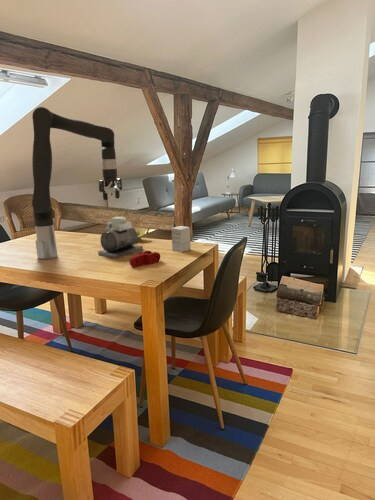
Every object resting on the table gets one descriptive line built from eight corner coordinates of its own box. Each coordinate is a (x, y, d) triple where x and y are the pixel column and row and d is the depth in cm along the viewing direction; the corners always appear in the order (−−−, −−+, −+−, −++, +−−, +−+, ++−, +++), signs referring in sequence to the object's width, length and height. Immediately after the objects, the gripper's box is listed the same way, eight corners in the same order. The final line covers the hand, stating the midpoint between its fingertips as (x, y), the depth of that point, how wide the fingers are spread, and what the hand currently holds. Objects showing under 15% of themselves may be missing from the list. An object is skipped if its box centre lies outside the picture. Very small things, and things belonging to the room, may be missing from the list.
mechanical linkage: (150, 259, 196) (149, 249, 195) (160, 261, 192) (160, 251, 191) (126, 266, 185) (125, 256, 183) (136, 269, 180) (136, 259, 179)
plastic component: (112, 240, 229) (112, 230, 236) (114, 249, 234) (114, 239, 241) (145, 236, 230) (144, 226, 238) (146, 245, 235) (145, 235, 243)
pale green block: (121, 228, 203) (120, 218, 202) (110, 227, 207) (109, 217, 206) (127, 226, 207) (126, 217, 206) (117, 225, 211) (116, 216, 210)
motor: (117, 258, 199) (114, 226, 195) (98, 254, 207) (95, 224, 203) (142, 249, 215) (141, 220, 211) (124, 246, 223) (122, 218, 219)
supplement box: (181, 247, 216) (180, 225, 213) (191, 249, 211) (190, 227, 208) (171, 250, 211) (170, 227, 208) (181, 252, 206) (180, 229, 203)
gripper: (114, 167, 210) (116, 197, 214) (94, 168, 198) (96, 200, 202) (124, 167, 205) (126, 198, 209) (104, 168, 194) (106, 201, 198)
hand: (111, 199), depth 206 cm, fingers open, 8 cm apart
